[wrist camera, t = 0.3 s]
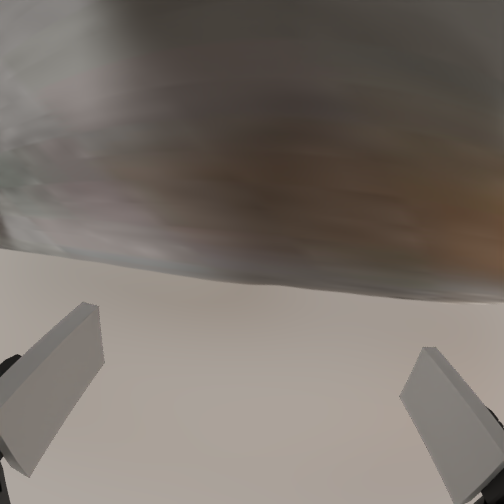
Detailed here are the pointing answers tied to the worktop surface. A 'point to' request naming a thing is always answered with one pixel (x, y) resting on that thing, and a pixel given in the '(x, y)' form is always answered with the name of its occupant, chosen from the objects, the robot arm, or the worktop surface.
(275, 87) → the worktop surface
